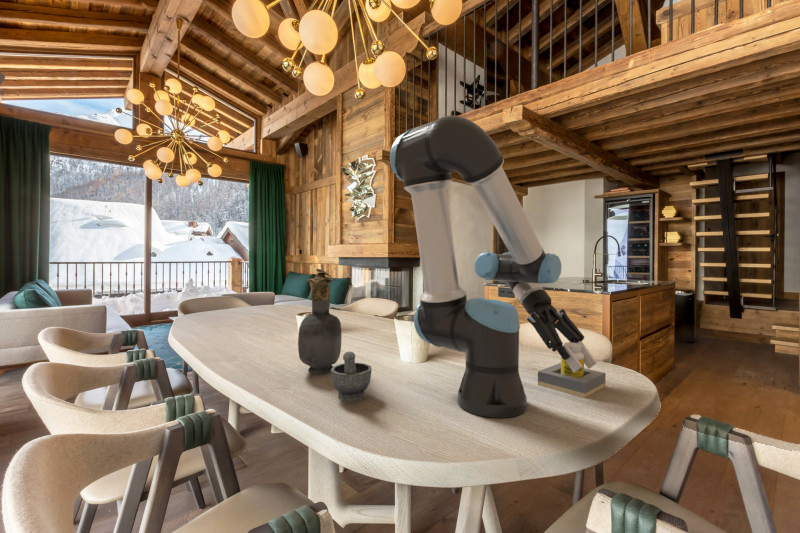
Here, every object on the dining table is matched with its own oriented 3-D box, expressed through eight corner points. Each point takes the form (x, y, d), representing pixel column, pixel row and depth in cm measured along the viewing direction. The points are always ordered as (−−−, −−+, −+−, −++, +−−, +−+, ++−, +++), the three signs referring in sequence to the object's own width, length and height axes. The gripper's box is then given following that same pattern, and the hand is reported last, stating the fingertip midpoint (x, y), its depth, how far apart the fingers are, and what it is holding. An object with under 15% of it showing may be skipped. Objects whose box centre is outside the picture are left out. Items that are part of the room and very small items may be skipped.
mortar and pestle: (334, 389, 95) (334, 342, 94) (372, 389, 95) (371, 342, 95) (327, 407, 83) (327, 354, 83) (369, 407, 84) (369, 353, 83)
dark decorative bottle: (294, 379, 103) (293, 269, 102) (311, 360, 122) (311, 267, 121) (334, 379, 102) (334, 269, 102) (345, 360, 122) (344, 267, 121)
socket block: (584, 397, 89) (584, 383, 89) (537, 384, 98) (537, 371, 98) (605, 386, 97) (605, 372, 97) (560, 375, 106) (560, 362, 106)
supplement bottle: (561, 383, 96) (562, 345, 96) (560, 376, 101) (560, 340, 101) (584, 386, 94) (585, 347, 94) (582, 379, 99) (583, 342, 99)
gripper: (546, 302, 115) (597, 369, 101) (502, 307, 106) (552, 381, 92) (561, 286, 110) (617, 354, 96) (517, 289, 101) (572, 365, 87)
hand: (585, 367), depth 94 cm, fingers closed on supplement bottle, 5 cm apart
